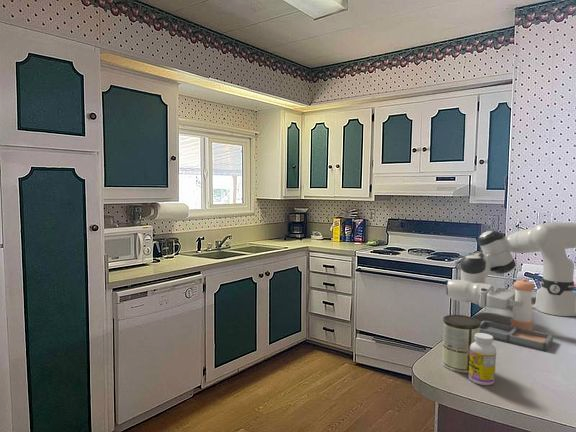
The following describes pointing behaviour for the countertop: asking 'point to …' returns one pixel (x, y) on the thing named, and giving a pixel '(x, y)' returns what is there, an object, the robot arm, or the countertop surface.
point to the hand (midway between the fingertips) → (525, 301)
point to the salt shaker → (524, 313)
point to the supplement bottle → (482, 359)
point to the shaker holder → (517, 335)
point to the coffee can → (458, 341)
